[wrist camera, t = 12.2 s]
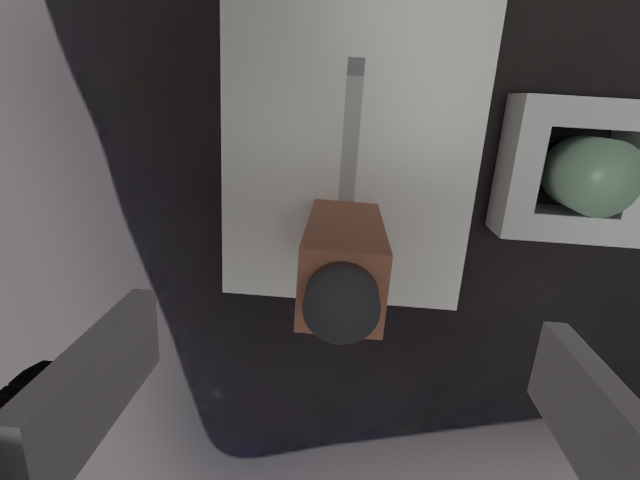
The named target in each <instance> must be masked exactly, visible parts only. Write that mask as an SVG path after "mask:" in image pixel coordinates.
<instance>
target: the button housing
mask: <svg viewBox="0 0 640 480" xmlns="http://www.w3.org/2000/svg"><path fill="white" fill-rule="evenodd" d="M552 126H555V127H571V128H587V129H604V130H612V132H611V136H610V139H615V140H621V141H625V142H628V143H630V144H632V145H633V146H635V147H636V148H637V149H638V150H639V151H640V100H639V99H622V98H605V97H587V96H570V95H553V94H536V93H515V94H508V96H507V102H506V107H505V113H504V119H503V125H502V130H501V136H500V142H499V147H498V153H497V159H496V165H495V170H494V176H493V182H492V188H491V193H490V199H489V205H488V211H487V216H486V222H485V225H486V226H487V227H488V228H489V229H490V230H491V231H492V232H493V233H495V234H496V235H497V236H498V237H499V238H500V239H512V240H526V241H541V242H555V243H569V244H583V245H597V246H611V247H625V248H639V249H640V195H639V197H638V198H637V199H636V201H635V202H634V203H633V204H632V205H631V206H629V207H628V208H627V209H625V210H624V211H622V212H620V213H618V214H616V215H613V216H609V217H604V218H594V217H589V216H585V215H583V214H581V213H579V212H577V211H574V210H572V209H570V208H568V207H566V206H564V205H549V204H536V201H537V196H538V192H539V187H540V182H541V177H542V172H543V167H544V163H545V158H546V153H547V148H548V143H549V138H550V134H551V129H552Z"/></svg>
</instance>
